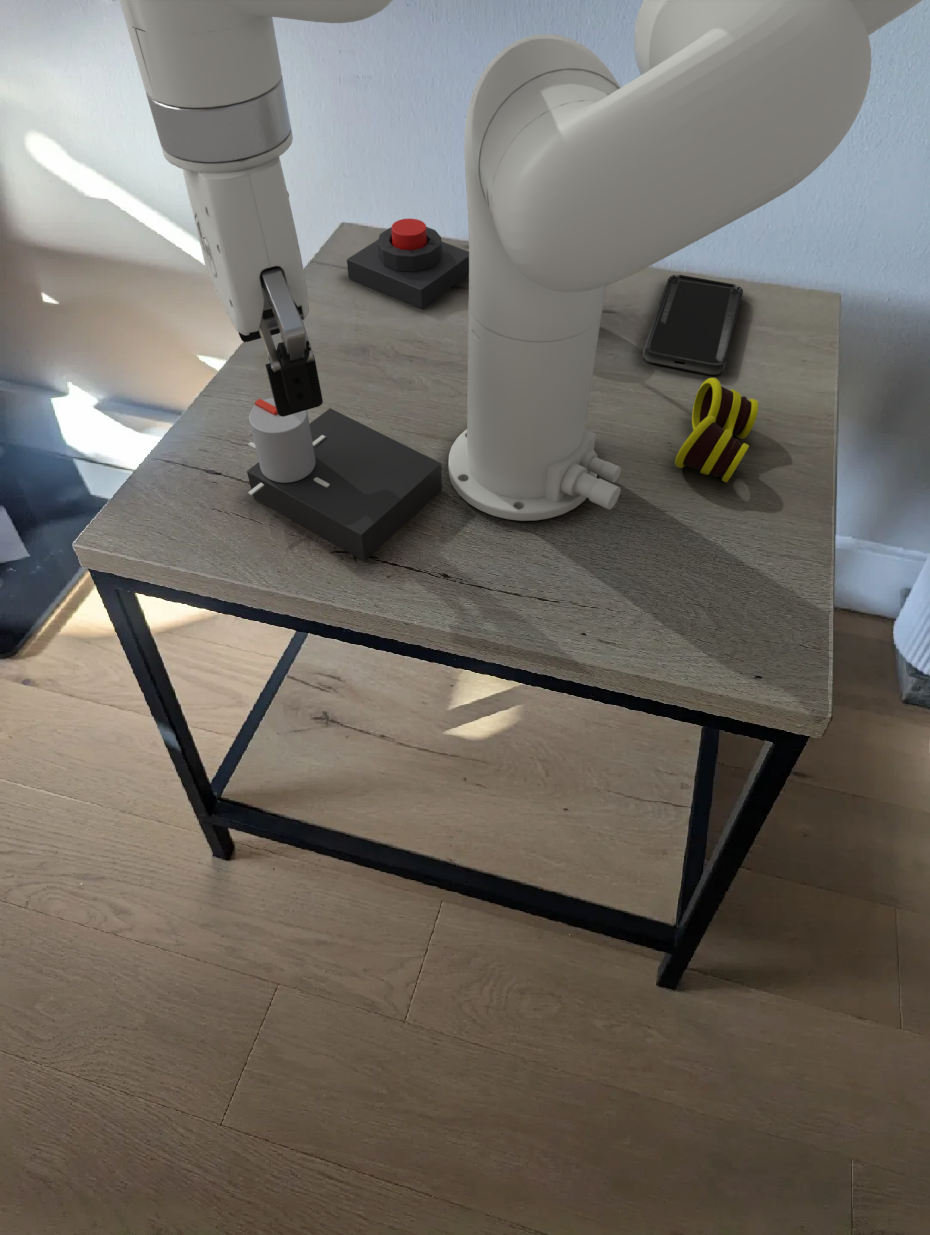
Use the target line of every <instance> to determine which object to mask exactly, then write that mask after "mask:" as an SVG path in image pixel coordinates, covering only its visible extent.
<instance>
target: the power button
mask: <svg viewBox="0 0 930 1235" xmlns="http://www.w3.org/2000/svg"><path fill="white" fill-rule="evenodd" d="M426 227H427V225H426V223H425V222H424V221H422V220H421V219H418V218H401V219H398V220H396V221H394V222H393V223H392V224H391V227H390V228H391V229H392V244H393V246H394V247H396V248H399V249H401V250H415V249H420V248H423V247H424V246H426V244H427V231H426Z"/></svg>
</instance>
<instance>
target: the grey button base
mask: <svg viewBox="0 0 930 1235" xmlns="http://www.w3.org/2000/svg"><path fill="white" fill-rule="evenodd" d="M426 231H427V244H426V246H424V247H423V248H420V249H415V250H401V249H399V248H396V247H394V246H393V244H392V229H391V227H389V228H387V229H386V230H384V231H382V232H380V233H379V236H378V238H377V239H376V240H375V241H372V242H371V243H370V244H369V245H367V246H365V247H363V248H362V249H361V250H359V251H358V252H356V253H354V254H353V255H351V256H349V257H348V258H347V259H346V264H347V274H348V275H347V276H348V279H349V280H352V281H354V282H357V283H358V284H361V285H363V286H366V287H368V288H371V289H374V290H375V291H378V292H379V293H383V294H385V295H388V296H390V297H392V298H394V299H397V300H400V301H402V302H404V303H407V304H409V305H411V306H414V307H416V308H419V309H422V310H423V309H425V307H428V306H429V305H430V304H431V303H432V302H434V301H435V300H437V299H438V298H439V297H442V295H443V294H445V293H446V292H448V291H449V290H450V289H452V288H453V287H454V286H456V285H457V284H459V283H460V282H462V281H463V280H464V279H466V278H467V277H469V250H466V249H463V248H461V247H458V246H454V245H452V244H450V243H447V242H445V241H442V236H441V234H439V233H438V231H437V230H436V229H434V228H431V227H428V226H426Z"/></svg>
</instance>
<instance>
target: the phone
mask: <svg viewBox="0 0 930 1235" xmlns="http://www.w3.org/2000/svg"><path fill="white" fill-rule="evenodd" d="M743 294H744V289H743V288H742V287H741V286H740V285H737V284H734V283H728V282H724V281H717V280H712V279H708V278H707V279H706V278H700V277H695V276H690V275H685V274H673V275H670V276H669V277H668V279H667V281H666V284H665V286H664V288H663V291H662V294H661V297H660V299H659V302H658V307H657V310H656V312H655V315H654V317H653V321H652V324H651V326H650V329H649V332H648V335H647V338H646V340H645V344H644V347H643V352H642V358H643V360H644V361H645V362H647V363H649V364H653V365H657V366H661V367H667V368H673V369H678V370H682V371H688V372H694V373H699V374H703V375H708V376H718V375H721V374H722V373H723V372H724V370H725V366H726V364H727V359H728V354H729V350H730V347H731V346H730V345H731V342H732V338H733V334H734V331H735V326H736V322H737V319H738V314H739V311H740V307H741V303H742V298H743Z"/></svg>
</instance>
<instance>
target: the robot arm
mask: <svg viewBox="0 0 930 1235" xmlns="http://www.w3.org/2000/svg"><path fill="white" fill-rule="evenodd" d="M922 1H923V0H643V1H642V3H641V5H640V8H639V10H638V13H637V16H636V18H635V25H634V30H633V31H634V33H633V45H634V46H633V47H634V55H635V56H634V57H635V61H636V65H637V68H638V72H639V74H640V75H639V76H637V77H636V78H634V79H632V80H631V81H629V82H628V83H626V84H624V85H623V86H621V85H620V84H619V82H618V80H616V77H615V76H614V75H613V73H612V72H611V70H610V69H609V68H608V67H607V65H606V64H605V63H604V62H603V61H602V59H601V58H600V57H599V56H598V55H597V54H595V53H594V52H593V51H592V50H591V49H589V48H588V47H587V46H585V45H584V44H582V43H580V42H578V41H576V40H574V39H573V38H571V37H567V36H564V35H559V34H554V33H540V34H532V35H528V36H525V37H521V38H520V39H518V40H516V41H513V42H512V43H510V44H509V45H507V46H505V47H504V48H503V49H502V50H501V51H499V52H498V53H497V54H496V55H495V56H494V57H493V58H492V60H490V61H489V62H488V64H487V65H486V67H485V68H484V69H483V71H482V72H481V74H480V76H479V78H478V79H477V81H476V84H475V85H474V88H473V90H472V93H471V95H470V99H469V103H468V107H467V110H466V111H467V112H466V117H465V125H464V136H463V137H464V139H463V140H464V142H463V143H464V144H463V150H464V152H463V153H464V173H465V176H464V177H465V189H466V190H465V192H466V208H467V226H468V230H467V231H468V252H469V275H468V306H467V307H468V308H467V311H468V312H467V313H468V314H467V315H468V316H467V319H468V320H467V393H466V394H467V395H466V396H467V401H466V402H467V403H466V404H467V405H466V406H467V407H466V408H467V409H466V410H467V412H466V429H465V430H463V432H462V433H460V435H459V436H458V437H457V438H456V439H455V440H454V442H453V443H452V445H451V447H450V451H449V454H448V463H447V464H448V466H447V467H448V478H449V480H450V482H451V485H452V487H453V488H454V490H455V491H456V492H457V494H458V496H460V497H461V498H462V499H463V500H464V501H465V502H467V503H468V504H469V505H471V506H472V507H474V508H475V509H477V510H478V511H479V512H480V511H481V512H483V513H485V514H488V515H491V516H493V517H497V518H501V519H504V520H511V521H520V522H526V521H540V520H549V519H552V518H556V517H558V516H562V515H565V514H566V513H568V512H570V511H572V510H574V509H576V508H577V507H578V506H580V505H581V504H583V502H585V501H586V500H587V499H588V500H589V502H592V503H594V504H596V505H598V506H600V507H602V508H604V509H606V510H612V509H613V508H614V506H615V505H616V503H617V502H618V500H619V498H620V496H621V487H620V486H618V485H616V484H614V483H616V482H617V481H618V479H619V477H620V475H621V473H622V467H621V466H619V465H617V464H615V463H612V462H610V461H608V460H603V459H601V458H600V457H598V453H597V452H596V451H595V445H596V438H597V433H596V432H593V431H591V430H588V429H587V428H586V425H587V418H588V411H589V404H590V399H591V398H590V396H591V390H592V384H593V375H594V370H595V362H596V356H597V348H598V342H599V334H600V327H601V321H602V314H603V309H604V302H605V295H606V290H607V286H609V285H612V284H615V283H618V282H619V281H622V280H624V279H627V278H629V277H631V276H633V275H634V274H637V273H639V272H641V271H642V270H643V271H644V270H645V269H646V268H648V267H650V266H652V265H654V264H656V263H658V262H660V261H663V259H666V258H667V257H669V256H671V255H673V254H675V253H678V252H679V251H681V250H682V249H685V248H686V247H688V246H690V245H692V244H694V243H695V242H698V241H700V240H702V239H703V238H705V237H707V236H710V235H712V234H713V233H714V232H716V231H718V230H720V229H722V228H723V227H726V226H727V225H730V224H731V223H733V222H735V221H737V220H739V219H740V218H743V217H744V216H747V215H748V214H750V213H752V212H753V211H756V210H757V209H759V208H761V207H763V206H765V205H766V204H768V203H770V202H772V201H773V200H775V199H776V198H779V197H780V196H782V195H784V194H785V193H787V192H789V191H790V190H792V189H793V188H795V187H796V186H797V185H798V184H800V183H802V182H803V181H804V180H805V179H806V178H808V177H809V176H810V175H811V174H812V173H813V172H815V171H816V170H817V169H818V168H819V167H820V166H821V165H822V164H823V163H824V162H825V161H826V160H827V159H828V158H829V157H830V155H832V154H833V152H834V151H835V150H836V149H837V148H838V146H839V145H840V144H841V142H842V141H843V140H844V138H845V137H846V135H847V134H848V132H849V131H850V129H851V128H852V126H853V124H854V123H855V121H856V119H857V117H858V115H859V113H860V111H861V109H862V106H863V104H864V102H865V100H866V95H867V91H868V88H869V85H870V80H871V73H872V72H871V71H872V49H871V42H870V36H871V35H872V34H873V33H875V32H876V31H878V30H879V29H882V28H883V27H885V26H886V25H887V24H889V23H891V22H892V21H894V20H895V19H897V18H898V17H900V16H901V15H904V13H906V12H908V11H909V10H911V9H912V8H913V7H915V6H917V5H918V4H920V3H921V2H922ZM392 2H394V0H119V3H120V7H121V10H122V14H123V17H124V21H125V24H126V28H127V32H128V36H129V38H130V42H131V45H132V49H133V53H134V55H135V59H136V60H135V61H136V63H137V66H138V70H139V73H140V77H141V80H142V84H143V88H144V91H145V95H146V99H147V102H148V105H149V108H150V112H151V115H152V119H153V123H154V126H155V130H156V133H157V137H158V140H159V143H160V148H161V150H162V154H163V156H164V159H165V160H166V161H167V162H168V163H169V164H171V165H173V166H175V167H176V168H178V169H182V173H183V179H184V182H185V187H186V190H187V195H188V199H189V204H190V207H191V211H192V212H191V213H192V215H193V219H194V224H195V228H196V231H197V232H196V233H197V236H198V240H199V245H200V250H201V253H202V257H203V261H204V266H205V269H206V272H207V275H208V278H209V280H210V282H211V284H212V286H213V289H214V291H215V293H216V295H217V297H218V299H219V301H220V303H221V306H222V307H223V309H224V311H225V313H226V315H227V317H228V319H229V321H230V322H231V324H232V326H233V328H234V329H235V331H237V332H238V336H239V338H240V339H241V340H240V341H241V342H244V343H249V342H253V341H256V340H260V339H261V341H262V344H263V347H264V350H265V353H266V356H267V359H268V362H269V363H265V369H266V373H267V378H268V381H269V385H270V389H271V393H272V398H274V402H275V406H276V410H277V412H278V414H279V415H280V416H282V417H284V416H288V415H291V414H295V413H298V412H302V411H305V410H307V411H308V410H312V409H315V408H318V407H321V406H322V405H323V402H324V400H323V395H322V389H321V384H320V378H319V373H318V368H317V362H316V357H315V354H314V351H313V349H312V344H311V342H310V339H309V336H308V333H307V329H306V327H305V324H304V321H305V320H306V319H307V317H308V315H309V313H310V302H309V301H310V300H309V293H308V285H307V281H306V276H305V275H306V274H305V269H304V265H303V260H302V255H301V254H302V253H301V249H300V244H299V240H298V234H297V230H296V225H295V221H294V216H293V211H292V207H291V202H290V193H289V191H288V188H287V184H286V180H285V176H284V175H285V174H284V172H283V171H284V170H283V167H282V162H281V159H280V157H281V156H282V155H284V153H286V152H287V151H288V150H289V149H290V147H291V146H292V143H293V140H294V137H293V131H292V124H291V119H290V114H289V107H288V103H287V96H286V90H285V83H284V78H283V71H282V66H281V60H280V53H279V48H278V43H277V36H276V32H275V26H274V25H275V24H274V21H273V19H274V18H280V19H288V20H296V21H302V22H303V21H304V22H313V23H322V24H323V23H325V24H348V23H349V24H350V23H354V22H359V21H363V20H366V19H369V18H371V17H373V16H375V15H377V14H378V13H380V12H381V11H383V10H384V9H386V8H387V7H388V6H389V5H390V4H391V3H392ZM279 334H280V339H281V341H282V342H278V343H277V347H276V345H275V342H274V340H273V336H275V335H279ZM598 476H599V478H597V477H598Z"/></svg>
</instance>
